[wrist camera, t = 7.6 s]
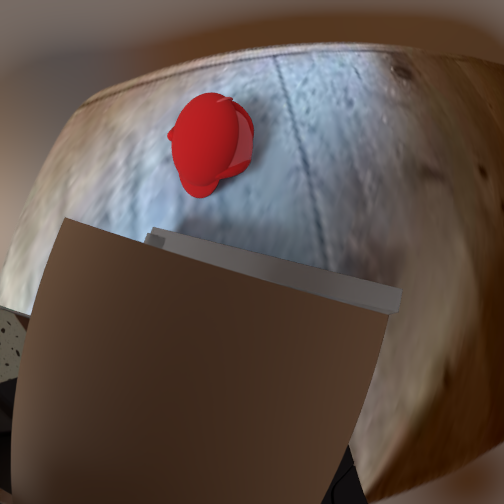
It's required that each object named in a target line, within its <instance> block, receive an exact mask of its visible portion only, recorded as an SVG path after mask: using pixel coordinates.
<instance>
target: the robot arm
mask: <svg viewBox="0 0 504 504" xmlns="http://www.w3.org/2000/svg"><path fill="white" fill-rule="evenodd" d="M17 379H18V377H16V378H13V379H10V380H7V381H4V382H0V504H13V501H12V486H11V437H12V421H13V410H14V401H15V393H16V385H17ZM353 465H354V461H353V458H352V454H351V451H350V448H349V444H348V446H347V448H346V450H345V453H344V455H343V457H342V460H341V462H340V464H339V466H338V469H337V471H336V473H335V475H334V477H333V479H332V482H331V484H330V486H329V488H328V490H327V492H326V494H325V496H324V498H323V500H322V502H321V504H368V503H367V500H366V498H365V495H364V493H363V490H362V487H361V484H360V481H359V478H358V474H357V471H356V467H355V466H353Z"/></svg>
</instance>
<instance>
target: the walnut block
mask: <svg viewBox="0 0 504 504" xmlns="http://www.w3.org/2000/svg"><path fill="white" fill-rule="evenodd" d="M388 317H389V315H387V314H384V313H380V312H376V311H373V310H369V309H365V308H361V307H358V306H354V305H350V304H347V303H343V302H340V301H336V300H332V299H329V298H325V297H322V296H318V295H314V294H311V293H307V292H304V291H300V290H297V289H293V288H290V287H286V286H283V285H279V284H276V283H273V282H269V281H266V280H262V279H259V278H256V277H252V276H249V275H245V274H242V273H239V272H235V271H232V270H229V269H225V268H222V267H219V266H215V265H212V264H209V263H206V262H202V261H199V260H196V259H192V258H189V257H186V256H183V255H180V254H176V253H173V252H170V251H167V250H164V249H160V248H157V247H154V246H151V245H148V244H145V243H141V242H138V241H135V240H132V239H129V238H126V237H123V236H120V235H117V234H114V233H111V232H107V231H104V230H101V229H98V228H95V227H92V226H89V225H86V224H83V223H80V222H77V221H74V220H71V219H68V218H64V221H63V223H62V225H61V228H60V230H59V233H58V235H57V238H56V240H55V243H54V245H53V248H52V251H51V253H50V256H49V259H48V261H47V264H46V267H45V270H44V273H43V276H42V279H41V282H40V285H39V289H38V292H37V295H36V299H35V302H34V305H33V309H32V313H31V317H30V320H29V324H28V328H27V333H26V337H25V341H24V346H23V351H22V356H21V361H20V367H19V372H18V379H17V385H16V393H15V401H14V410H13V421H12V437H11V486H12V501H13V504H321V502H322V500H323V498H324V496H325V494H326V492H327V490H328V488H329V486H330V484H331V482H332V479H333V477H334V475H335V473H336V471H337V469H338V466H339V464H340V462H341V460H342V457H343V455H344V453H345V450H346V448H347V446H348V443H349V441H350V438H351V436H352V433H353V431H354V428H355V425H356V423H357V420H358V417H359V415H360V412H361V409H362V406H363V404H364V401H365V398H366V395H367V392H368V389H369V386H370V383H371V379H372V376H373V373H374V370H375V366H376V363H377V359H378V356H379V352H380V349H381V345H382V341H383V338H384V334H385V330H386V326H387V322H388Z"/></svg>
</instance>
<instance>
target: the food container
mask: <svg viewBox="0 0 504 504" xmlns="http://www.w3.org/2000/svg"><path fill="white" fill-rule="evenodd" d="M30 317H31V316H30V315H27V314H24V313H21V312H17V311H14V310H11V309H8V308H6V307H3V306H0V382H4V381H7V380H10V379H13V378H16V377H18V372H19V367H20V361H21V356H22V351H23V346H24V341H25V337H26V333H27V328H28V324H29V320H30Z"/></svg>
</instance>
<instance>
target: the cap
mask: <svg viewBox="0 0 504 504" xmlns="http://www.w3.org/2000/svg"><path fill="white" fill-rule="evenodd" d="M232 100H233V98H231V97H225V96H223V95H221V94H218V93H204V94H201V95H199V96H197V97H195V98H194V99H192V100H191V101H190V102H189V103H188V104H187V105H186V106H185V107H184V109H183V110H182V111H181V113H180V115H179V117H178V119H177V121H176V124H175V126H174V127H173V128H172V129H171V130H170V131H169V133H168V135H167V137H168V139H169V140H170V141H172V156H173V161H174V164H175V167H176V169H177V171H178V172H179V177H180V180H181V183H182V185H183V187H184V189H185V190H186V191H187V192H188V193H189V194H190V195H191V196H193V197H195V198H204V197H207V196H209V195H210V194H211V193H212V192H213V191H214V190H215V188H216V187H217V185H218V183H219V180H220V179H224V178H229V177H233V176H236V175H238V174H240V173H242V172H243V171H244V170H245V169H246V168H247V167H248V166H249V164H250V162H251V156H252V150H253V136H254V127H253V123H252V120H251V118H250V116H249V115H248V113H247V112H246V111H245V109H244V108H243V107H242V106H240V105H239V104H238V103H236V102H234V101H232Z"/></svg>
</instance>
